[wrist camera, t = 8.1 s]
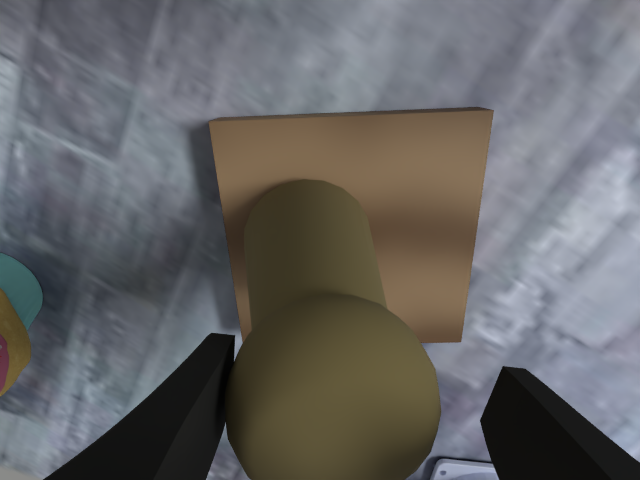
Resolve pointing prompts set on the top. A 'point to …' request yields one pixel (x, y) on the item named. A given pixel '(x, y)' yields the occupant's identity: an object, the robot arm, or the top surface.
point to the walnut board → (372, 196)
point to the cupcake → (16, 317)
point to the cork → (324, 350)
